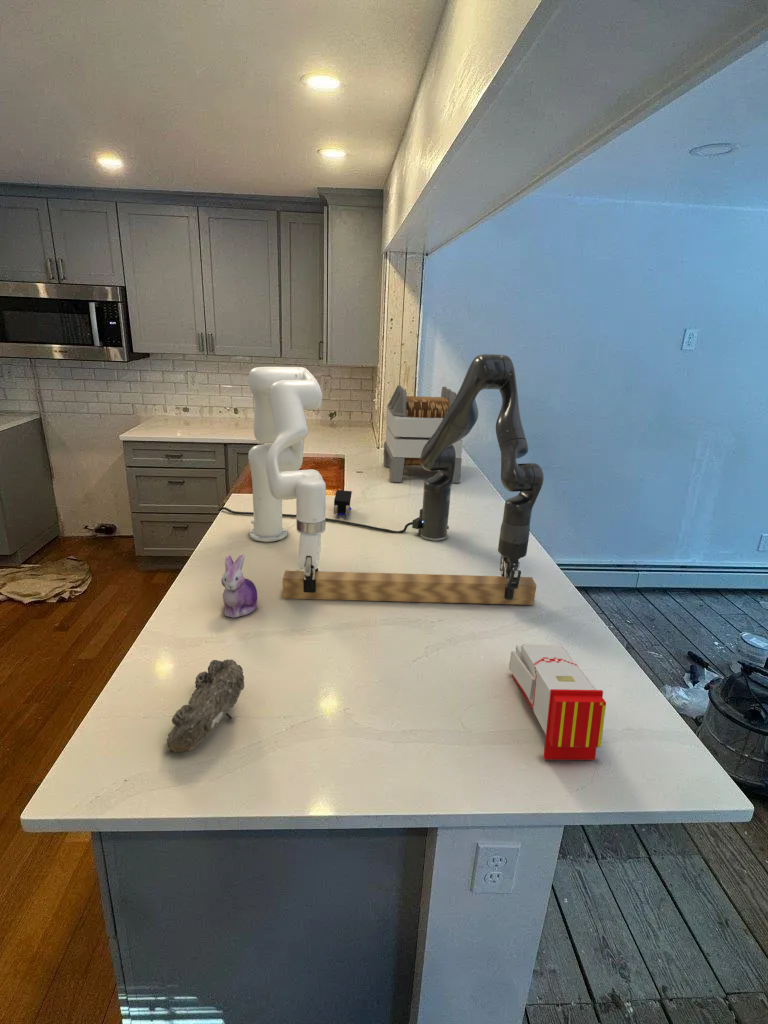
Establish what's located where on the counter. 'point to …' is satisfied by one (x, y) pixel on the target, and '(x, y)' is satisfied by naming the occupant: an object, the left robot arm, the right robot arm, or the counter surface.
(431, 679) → the counter surface
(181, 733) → the fossil
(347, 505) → the figurine character
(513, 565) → the right robot arm
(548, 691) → the toy
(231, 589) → the figurine
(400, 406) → the grey box with legs
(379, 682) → the counter surface
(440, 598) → the beam
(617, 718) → the counter surface
